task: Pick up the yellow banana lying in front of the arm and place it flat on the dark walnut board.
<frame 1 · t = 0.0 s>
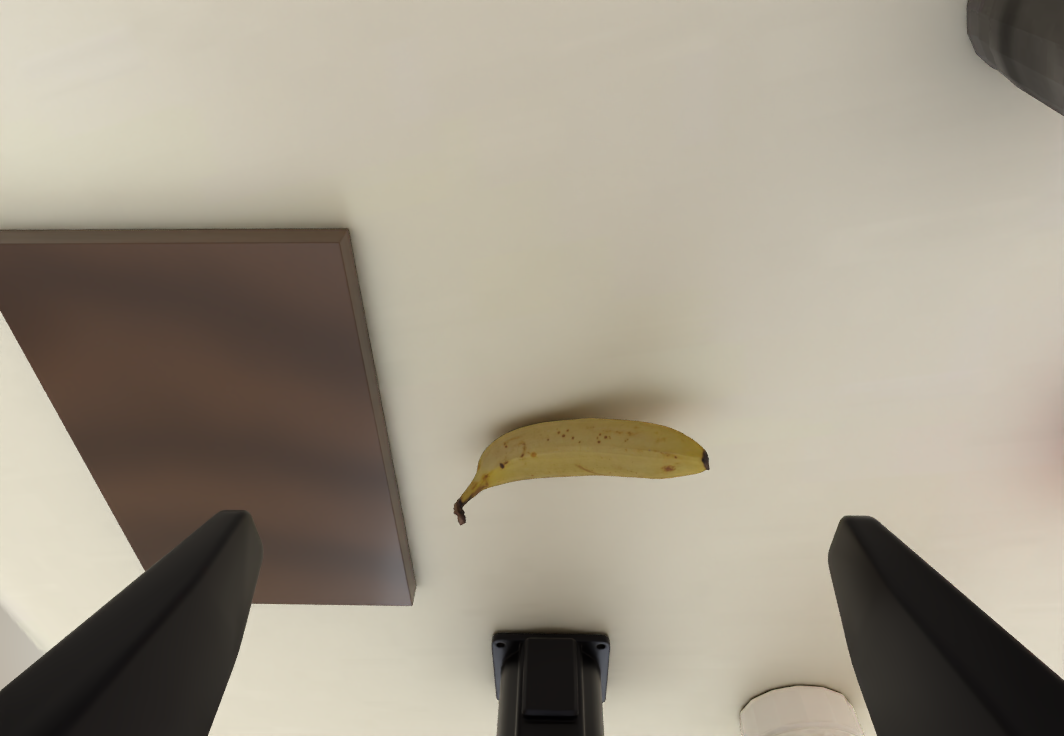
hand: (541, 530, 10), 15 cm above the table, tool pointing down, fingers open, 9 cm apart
banana: (573, 423, 28), on the table
white cup: (793, 709, 41), on the table
walnut board: (242, 442, 29), on the table
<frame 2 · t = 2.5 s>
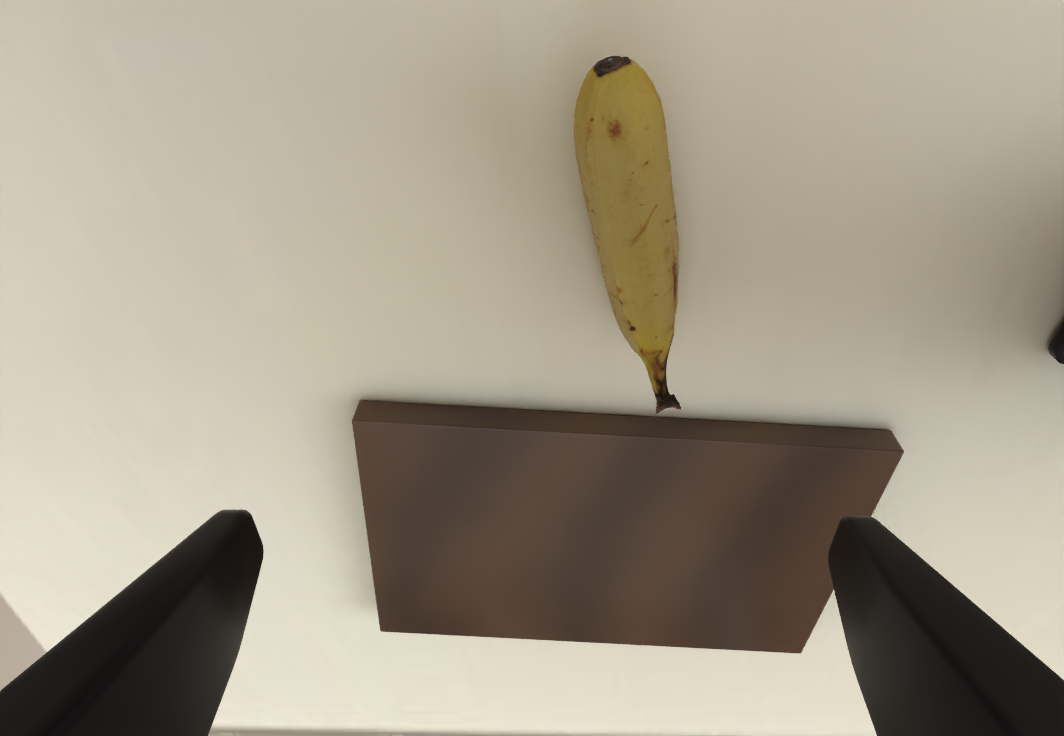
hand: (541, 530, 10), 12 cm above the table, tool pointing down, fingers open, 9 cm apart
banana: (629, 207, 20), on the table
walnut board: (606, 531, 29), on the table
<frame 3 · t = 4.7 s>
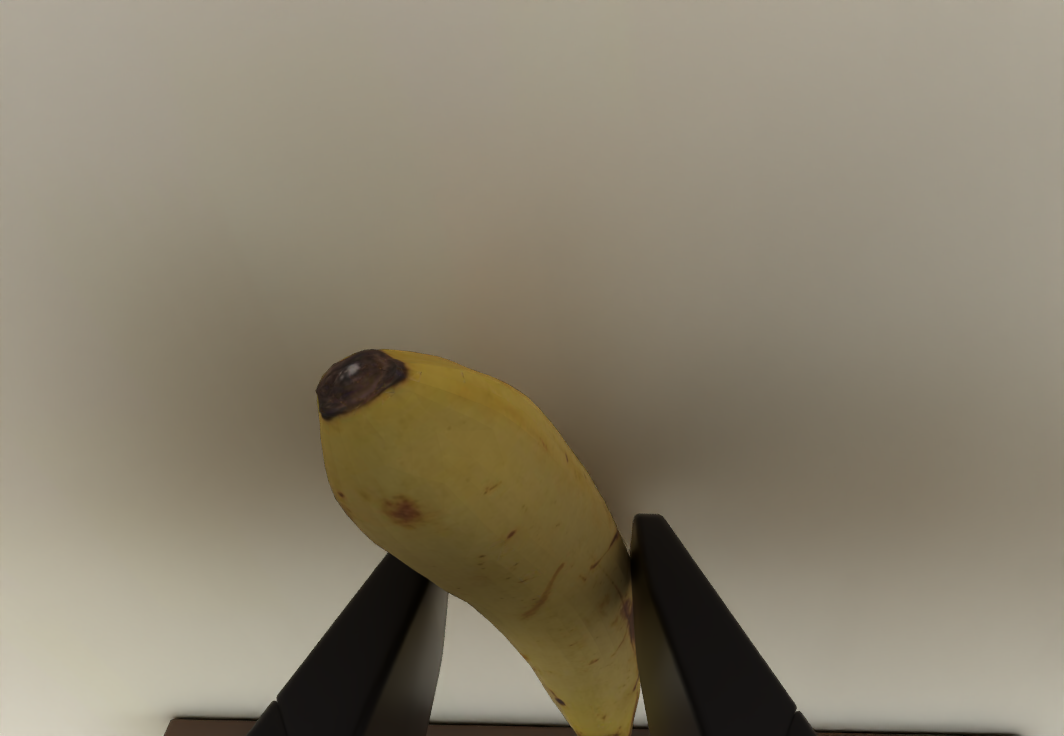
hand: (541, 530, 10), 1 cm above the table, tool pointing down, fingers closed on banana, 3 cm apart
banana: (542, 474, 11), on the table, touching gripper
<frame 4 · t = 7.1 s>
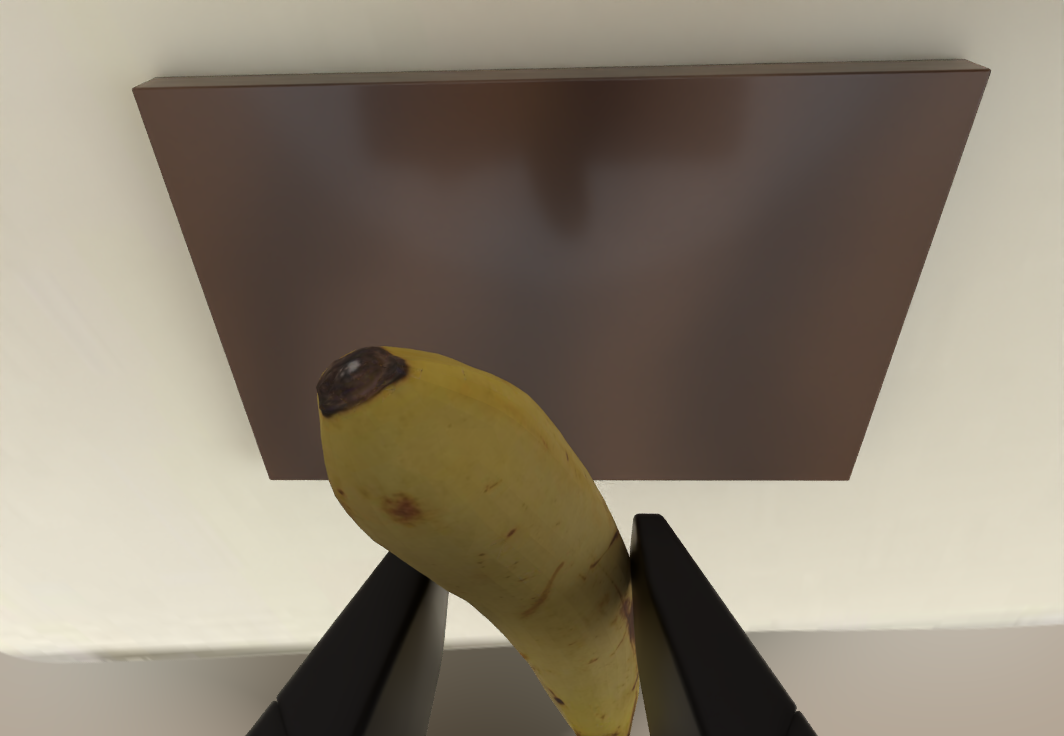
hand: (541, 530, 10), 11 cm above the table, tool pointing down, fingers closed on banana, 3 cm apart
banana: (542, 472, 11), point 10 cm above the table, touching gripper
walnut board: (553, 298, 20), on the table
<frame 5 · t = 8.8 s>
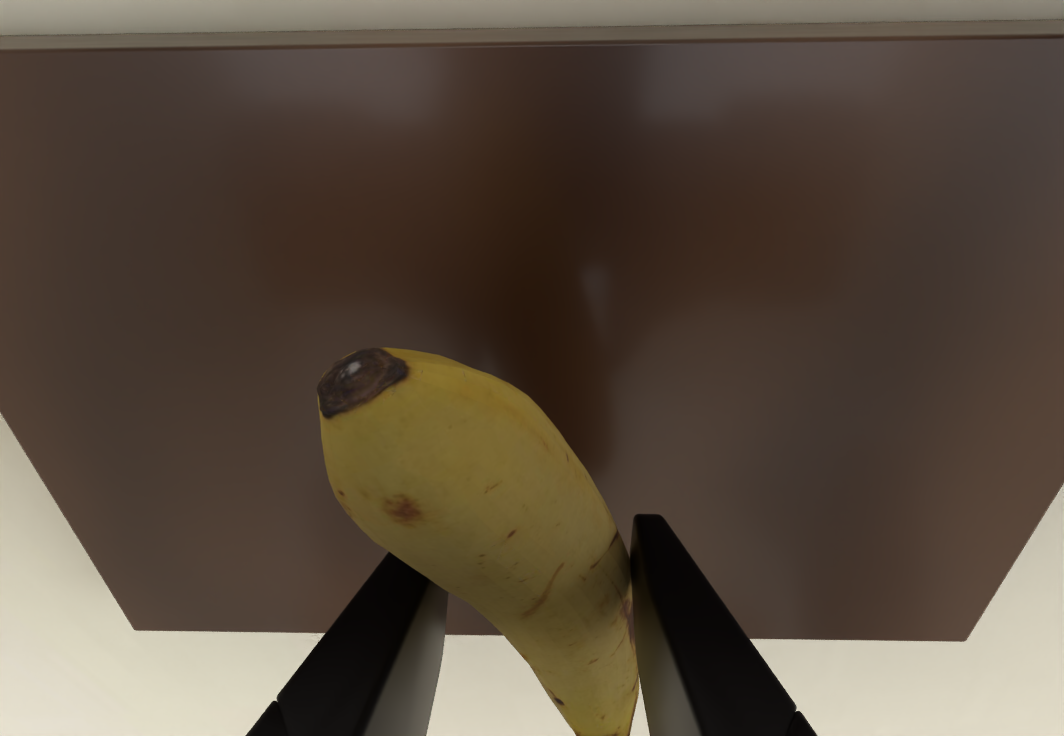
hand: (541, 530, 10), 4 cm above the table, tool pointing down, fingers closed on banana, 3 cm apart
banana: (542, 473, 11), point 2 cm above the table, touching gripper
walnut board: (539, 391, 13), on the table
when the fingers open (2 cm above the table, at t = 9.5 s): banana stays where it is, resting on walnut board.
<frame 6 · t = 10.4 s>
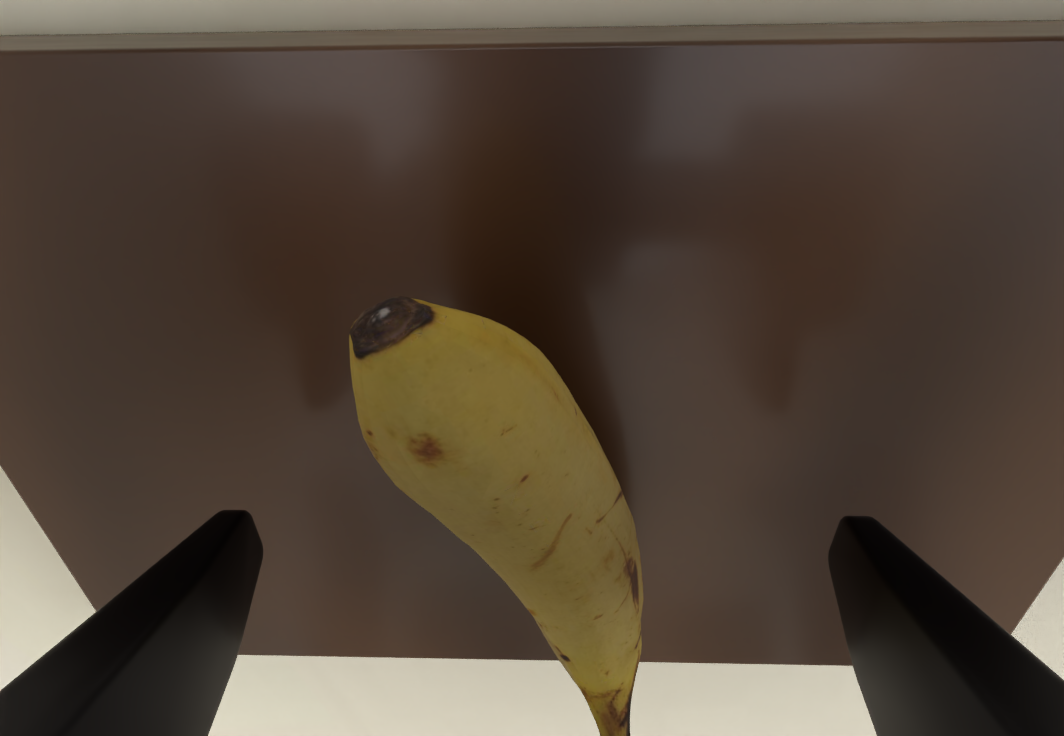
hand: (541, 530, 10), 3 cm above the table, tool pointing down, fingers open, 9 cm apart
banana: (549, 441, 12), point 1 cm above the table, touching walnut board
walnut board: (545, 409, 13), on the table
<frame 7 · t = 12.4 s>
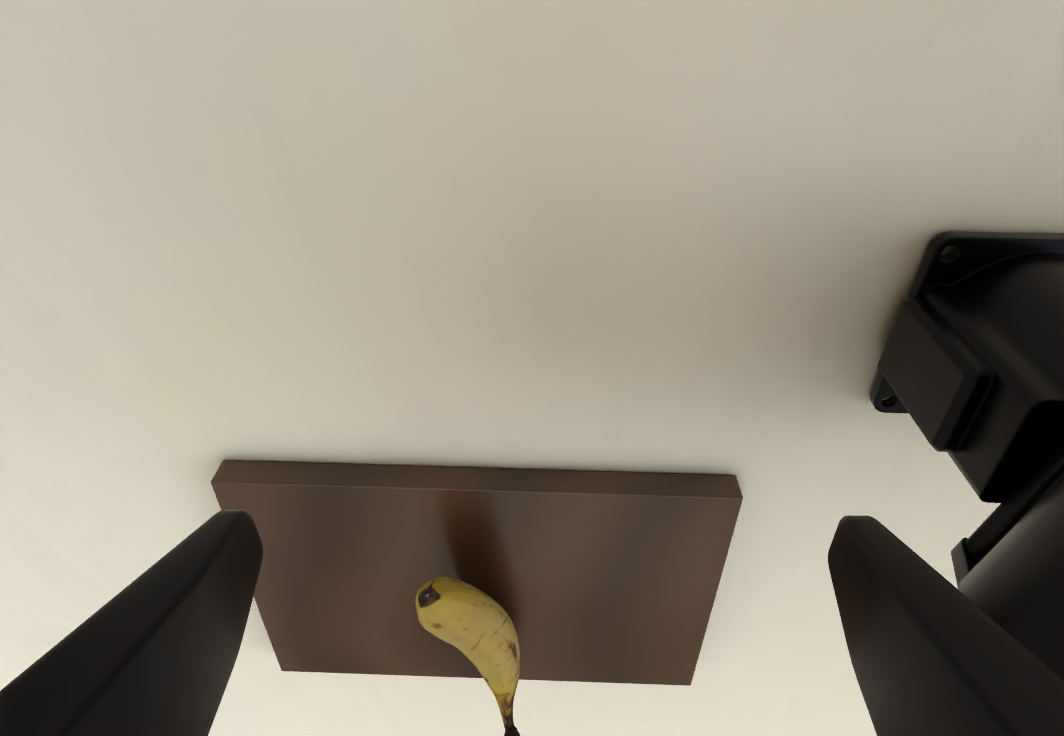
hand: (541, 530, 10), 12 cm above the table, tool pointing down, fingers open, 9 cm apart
banana: (482, 591, 29), point 1 cm above the table, touching walnut board
walnut board: (483, 573, 30), on the table
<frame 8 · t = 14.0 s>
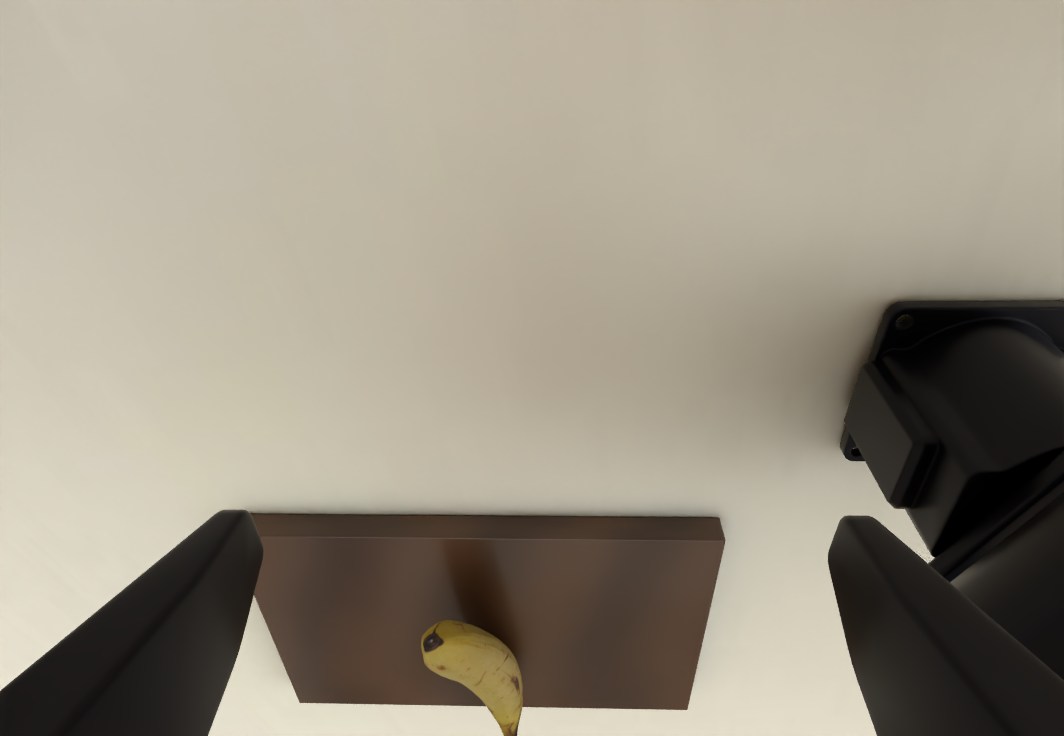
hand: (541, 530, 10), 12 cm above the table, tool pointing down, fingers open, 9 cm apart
banana: (486, 627, 30), point 1 cm above the table, touching walnut board
walnut board: (486, 609, 31), on the table
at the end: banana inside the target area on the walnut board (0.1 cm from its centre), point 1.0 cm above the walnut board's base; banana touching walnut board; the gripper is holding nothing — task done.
